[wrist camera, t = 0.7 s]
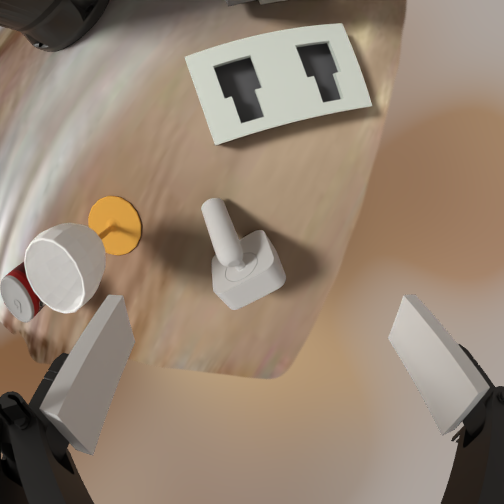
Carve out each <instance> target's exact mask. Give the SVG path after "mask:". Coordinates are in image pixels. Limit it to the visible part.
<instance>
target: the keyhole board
mask: <svg viewBox="0 0 504 504" xmlns="http://www.w3.org/2000/svg"><path fill="white" fill-rule="evenodd" d="M185 60H186V63H187V66H188V69H189V71H190V74H191V77H192V80H193V83H194V86H195V89H196V91H197V94H198V97H199V100H200V103H201V106H202V109H203V112H204V114H205V117H206V120H207V123H208V126H209V129H210V132H211V135H212V137H213V140H214V143H215V145H219V144H222V143H225V142H228V141H231V140H234V139H237V138H241V137H244V136H247V135H250V134H253V133H257V132H260V131H264V130H267V129H271V128H274V127H278V126H282V125H285V124H289V123H293V122H297V121H301V120H305V119H310V118H314V117H318V116H323V115H328V114H332V113H337V112H343V111H348V110H353V109H359V108H365V107H370V106H372V103H371V100H370V97H369V93H368V90H367V87H366V84H365V81H364V78H363V75H362V72H361V69H360V66H359V64H358V61H357V58H356V56H355V53H354V51H353V48H352V46H351V43H350V41H349V38H348V36H347V34H346V31H345V29H344V27H343V25H342V23H337V24H324V25H315V26H306V27H299V28H292V29H286V30H280V31H275V32H270V33H265V34H260V35H256V36H252V37H248V38H244V39H240V40H236V41H232V42H229V43H225V44H222V45H219V46H215V47H212V48H209V49H206V50H203V51H200V52H197V53H195V54H192V55H189V56H187V57H185Z"/></svg>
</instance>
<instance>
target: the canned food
mask: <svg viewBox="0 0 504 504" xmlns="http://www.w3.org/2000/svg"><path fill="white" fill-rule="evenodd" d="M0 290H1V295H2V298H3V300H4V303H5V305H6V306H7V308H8V309H9V311H10V312H11V313H12V314H13V315H14V316H15V317H16V318H17V319H18V320H20V321H22V322H29V321H30V320H31V319H33V318H34V316H35V315H36V314H37V313H38V312H39V311H40V310H41V309H42V308H43V307H44V306H45V303H43V302H42V301H41V300H40V298H39V297H38V296H37V295H36V293H35V292H34V291H33V289H32V287H31V285H30V283H29V281H28V278H27V275H26V270H25V265H24V262H23V263H21V264H20V265H19V266H17V267H16V268H15V269H13V270H12V271H11V272H10V273H8V274H7V275H6V276H5V277H4V278H3V279H2V280H1V284H0Z"/></svg>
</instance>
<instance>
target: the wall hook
mask: <svg viewBox="0 0 504 504" xmlns="http://www.w3.org/2000/svg"><path fill="white" fill-rule="evenodd" d="M201 210H202V213H203V216H204V219H205V222H206V226H207V229H208V232H209V235H210V238H211V241H212V244H213V247H214V250H215V253H216V254H215V256H214V257H213V258H212V280H213V291H214V292H215V293H216V294H217V295H218V296H219V298H220V299H221V300H222V301H223V302H224V303H225V304H226V305H227V306H228V307H229V308H230V309H233V310H237V309H240V308H242V307H244V306H246V305H248V304H250V303H252V302H254V301H256V300H258V299H260V298H262V297H264V296H266V295H267V294H269V293H271V292H273V291H275V290H277V289H279V288H280V287H281V286H282V285H283V284H284V283H285V281H286V275H285V272H284V269H283V267H282V264H281V262H280V259H279V257H278V254H277V252H276V249H275V248H274V246H273V245H272V243H271V241H270V240H269V238H268V237H267V235H266V234H265V232H264V231H263V230H257V231H254V232H252V233H250V234H249V235H247V236H245V237H243V238H242V239H240V240H239V238H238V236H237V233H236V231H235V228H234V226H233V223H232V221H231V218H230V216H229V213H228V211H227V208H226V206H225V203H224V201H223V200H222V199H220V198H212V199H209V200H207V201H206V202H205V203H204V204H203V205H202V208H201Z"/></svg>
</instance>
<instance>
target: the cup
mask: <svg viewBox="0 0 504 504" xmlns="http://www.w3.org/2000/svg"><path fill="white" fill-rule="evenodd" d="M88 220H89V227H88V226H85V225H81V224H75V223H64V224H60V225H57V226H55V227H52V228H50V229H48V230H45V231H43V232H41V233H40V234H39V235H38V236H37V237H36V238H35V239H34V240H33V241H32V242H31V243H30V245H29V246H28V248H27V249H26V253H25V261H24V265H25V270H26V275H27V278H28V281H29V283H30V285H31V287H32V289H33V291H34V292H35V293H36V295H37V296H38V297H39V298H40V300H41V301H42V302H43V303H45V304H46V305H47V306H49V307H50V308H52V309H53V310H55V311H59V312H62V313H72V312H76V311H77V310H78V309H79V308H81V307H82V306H83V305H84V304H85V303H86V302H88V301H89V300H90V299H91V298H92V297H93V295H94V294H95V292H96V290H97V289H98V287H99V284H100V281H101V278H102V275H103V273H104V270H105V263H106V257H105V252H107V253H108V254H113V255H123V254H127V253H129V252H130V251H131V250H133V249H134V248H135V247H136V246H137V244H138V242H139V239H140V237H141V222H140V219H139V216H138V213H137V211H136V210H135V209H134V208H133V206H132V205H131V204H130V203H129V202H128V201H126V200H124V199H123V198H121V197H116V196H107V197H104V198H102V199H99V200H98V201H97V202H96V203H95V204H94V206H93V207H92V209H91V211H90V214H89V217H88Z"/></svg>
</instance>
